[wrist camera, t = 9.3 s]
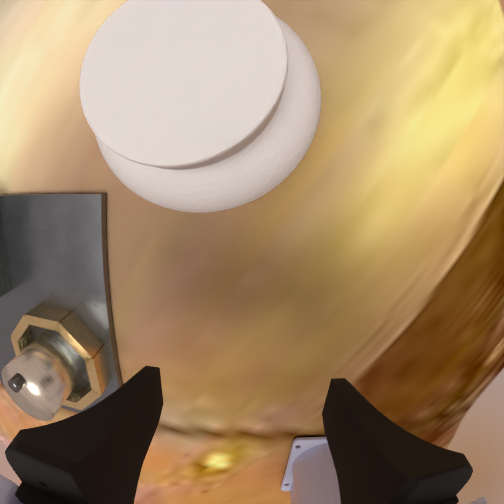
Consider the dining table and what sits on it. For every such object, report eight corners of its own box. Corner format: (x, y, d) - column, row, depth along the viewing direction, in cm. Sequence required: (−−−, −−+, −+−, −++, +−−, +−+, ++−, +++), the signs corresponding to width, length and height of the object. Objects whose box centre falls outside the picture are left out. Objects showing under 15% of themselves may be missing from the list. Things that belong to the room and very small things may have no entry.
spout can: (93, 382, 22) (58, 436, 16) (48, 372, 22) (9, 418, 15) (80, 331, 21) (34, 382, 14) (34, 323, 21) (-15, 365, 14)
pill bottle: (310, 116, 18) (409, 29, 5) (249, 215, 20) (242, 303, 7) (208, 60, 17) (146, -78, 4) (148, 157, 19) (-5, 149, 6)
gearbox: (129, 419, 24) (110, 463, 19) (5, 381, 24) (-22, 409, 18) (106, 193, 19) (59, 203, 14) (-31, 196, 19) (-75, 206, 13)
